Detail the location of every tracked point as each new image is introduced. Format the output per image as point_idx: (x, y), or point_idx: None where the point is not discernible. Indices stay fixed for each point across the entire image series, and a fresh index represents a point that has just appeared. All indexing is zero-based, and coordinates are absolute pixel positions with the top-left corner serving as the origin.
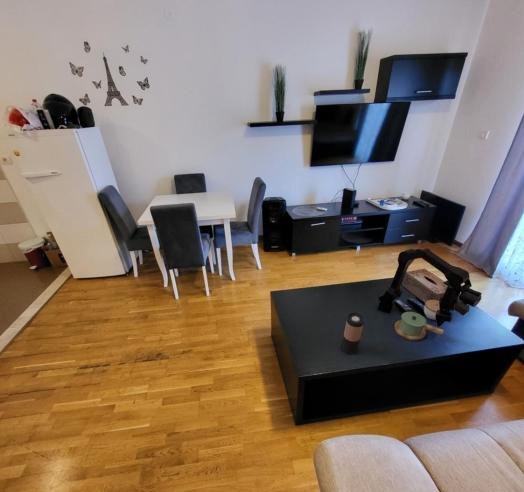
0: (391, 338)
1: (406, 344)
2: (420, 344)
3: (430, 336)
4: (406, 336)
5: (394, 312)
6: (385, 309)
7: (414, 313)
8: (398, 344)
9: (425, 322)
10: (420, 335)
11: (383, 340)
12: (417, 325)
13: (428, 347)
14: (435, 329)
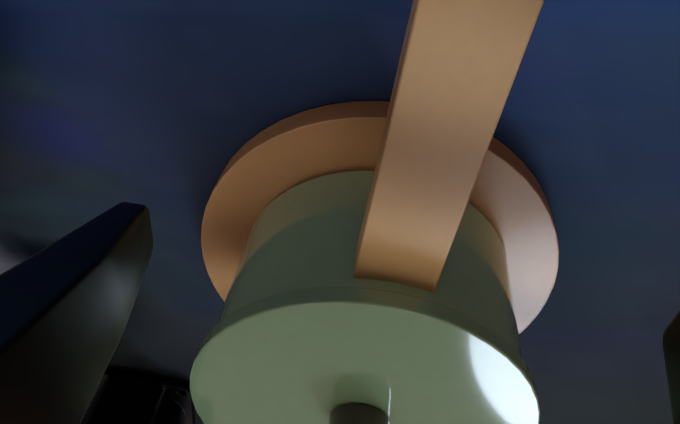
0: (573, 376)
1: (643, 281)
2: (613, 157)
3: (389, 32)
4: (536, 304)
5: (146, 346)
6: (177, 420)
7: (217, 402)
8: (657, 337)
9: (380, 314)
10: None
11: (618, 419)
12: (513, 400)
13: (662, 66)
14: (474, 144)
